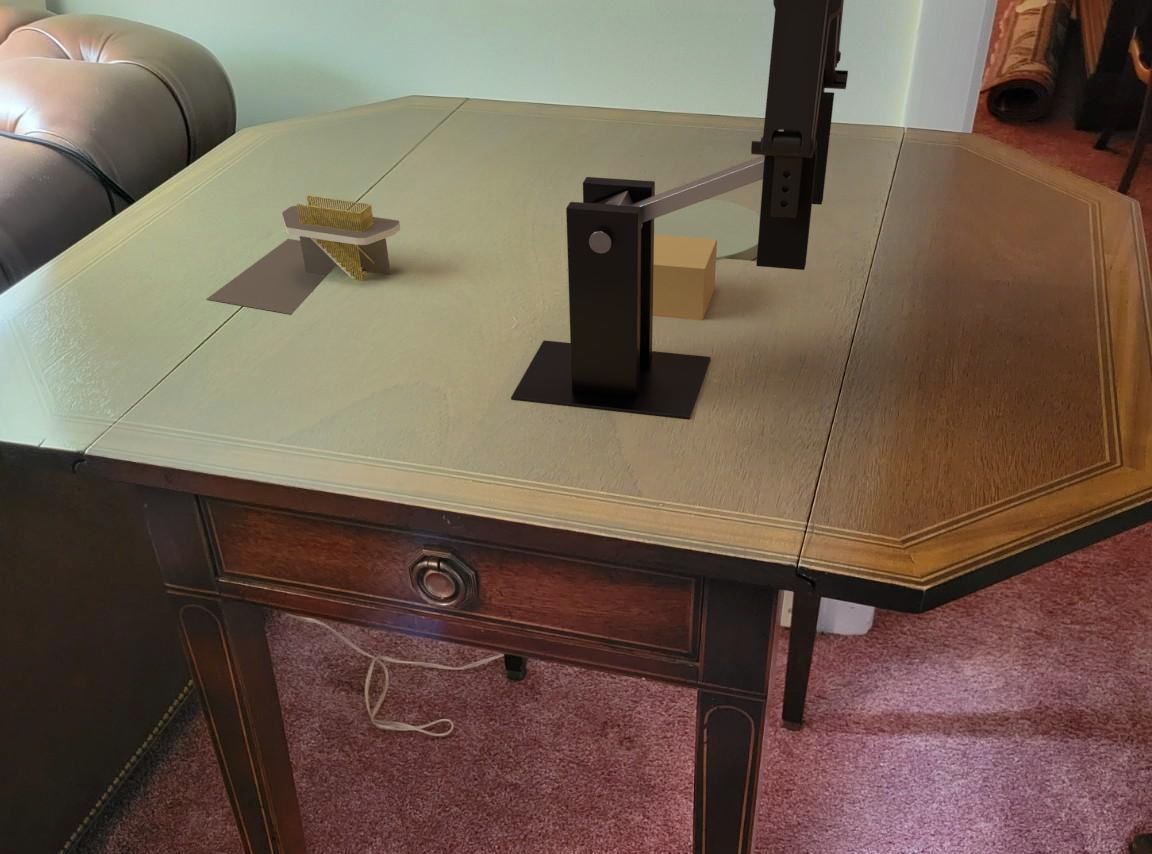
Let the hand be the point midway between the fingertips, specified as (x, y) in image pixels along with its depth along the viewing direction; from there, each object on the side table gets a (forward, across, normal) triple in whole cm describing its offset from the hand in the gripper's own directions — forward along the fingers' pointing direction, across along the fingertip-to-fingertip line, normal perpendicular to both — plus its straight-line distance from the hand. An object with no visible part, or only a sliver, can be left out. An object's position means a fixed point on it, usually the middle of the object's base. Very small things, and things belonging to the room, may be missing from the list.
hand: (791, 231), depth 73 cm
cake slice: (+12, -12, -9) cm, 19 cm away
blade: (-1, 0, -5) cm, 5 cm away
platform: (+12, -12, -36) cm, 40 cm away
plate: (+12, -25, -10) cm, 30 cm away
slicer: (+12, 0, -11) cm, 16 cm away
